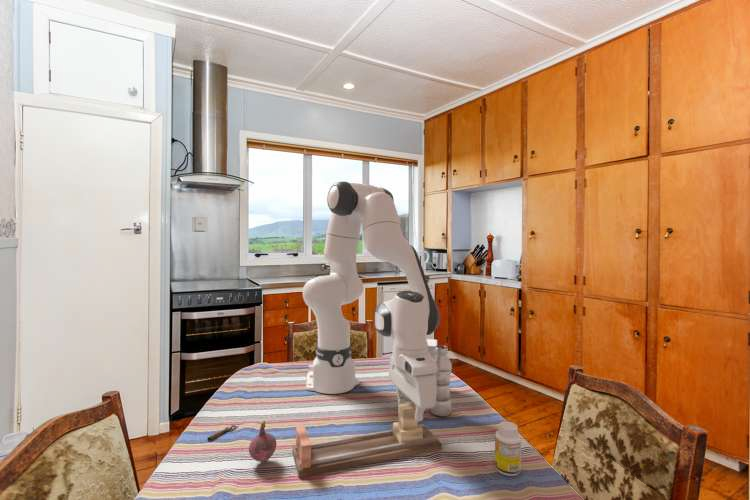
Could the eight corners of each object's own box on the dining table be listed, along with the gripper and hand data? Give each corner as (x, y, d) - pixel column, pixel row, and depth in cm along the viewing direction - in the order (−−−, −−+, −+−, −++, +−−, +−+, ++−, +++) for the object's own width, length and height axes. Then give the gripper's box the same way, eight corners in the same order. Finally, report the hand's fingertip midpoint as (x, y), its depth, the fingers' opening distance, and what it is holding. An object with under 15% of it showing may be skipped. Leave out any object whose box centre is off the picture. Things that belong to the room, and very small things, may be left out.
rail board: (292, 452, 92) (292, 426, 92) (423, 430, 104) (423, 406, 104) (298, 477, 83) (298, 448, 83) (441, 449, 95) (442, 423, 94)
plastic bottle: (451, 420, 110) (452, 351, 109) (427, 417, 111) (428, 349, 111) (451, 410, 116) (452, 345, 115) (429, 408, 118) (430, 343, 117)
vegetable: (250, 473, 84) (250, 429, 84) (247, 458, 90) (247, 416, 89) (278, 467, 86) (278, 423, 86) (274, 453, 92) (274, 412, 92)
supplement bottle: (500, 459, 91) (501, 417, 90) (524, 469, 87) (525, 424, 87) (490, 470, 86) (491, 425, 86) (515, 480, 83) (516, 434, 82)
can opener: (209, 442, 97) (209, 438, 97) (204, 439, 98) (204, 435, 98) (240, 428, 104) (240, 424, 104) (235, 425, 106) (235, 421, 106)
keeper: (392, 434, 98) (393, 403, 98) (414, 430, 100) (414, 400, 100) (400, 444, 94) (401, 412, 93) (422, 440, 96) (423, 408, 95)
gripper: (383, 347, 105) (383, 397, 105) (416, 371, 86) (416, 432, 86) (404, 345, 107) (404, 394, 107) (441, 368, 88) (441, 427, 88)
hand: (409, 411), depth 97 cm, fingers open, 8 cm apart
